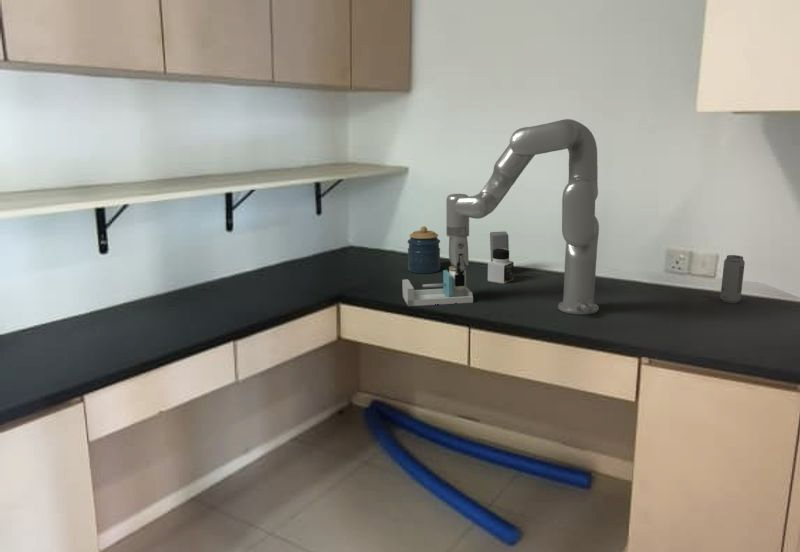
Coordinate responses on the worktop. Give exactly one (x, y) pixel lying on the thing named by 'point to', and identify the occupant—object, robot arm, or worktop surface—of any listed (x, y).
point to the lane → (433, 296)
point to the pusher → (444, 284)
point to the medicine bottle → (500, 267)
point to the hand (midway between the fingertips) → (457, 283)
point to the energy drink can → (732, 279)
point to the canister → (423, 252)
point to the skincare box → (498, 241)
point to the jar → (453, 272)
